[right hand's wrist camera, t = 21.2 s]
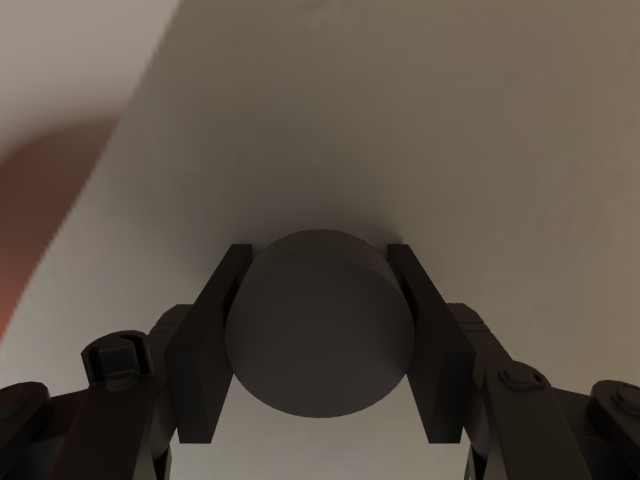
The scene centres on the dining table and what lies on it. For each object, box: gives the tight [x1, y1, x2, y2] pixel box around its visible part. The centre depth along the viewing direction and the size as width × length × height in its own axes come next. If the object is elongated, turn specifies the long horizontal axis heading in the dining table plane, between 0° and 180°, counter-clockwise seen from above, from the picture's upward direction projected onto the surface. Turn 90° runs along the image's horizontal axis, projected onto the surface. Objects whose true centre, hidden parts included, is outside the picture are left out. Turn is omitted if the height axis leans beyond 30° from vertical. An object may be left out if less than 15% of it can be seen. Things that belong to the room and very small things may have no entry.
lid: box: [224, 230, 416, 418], centre depth 11 cm, size 5×5×2 cm
